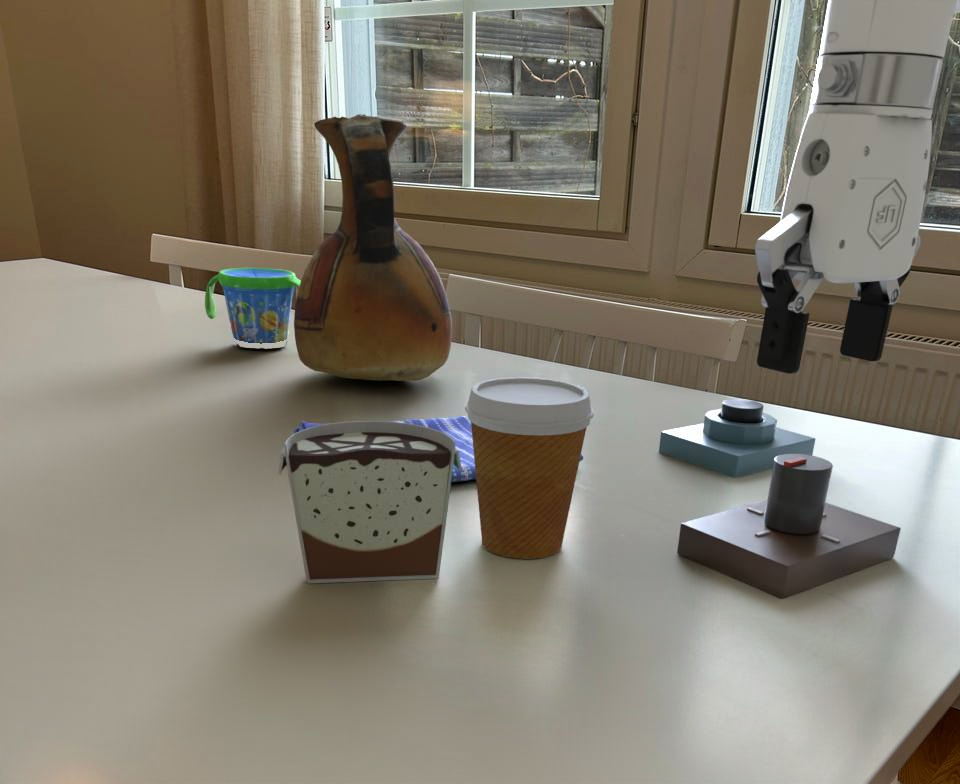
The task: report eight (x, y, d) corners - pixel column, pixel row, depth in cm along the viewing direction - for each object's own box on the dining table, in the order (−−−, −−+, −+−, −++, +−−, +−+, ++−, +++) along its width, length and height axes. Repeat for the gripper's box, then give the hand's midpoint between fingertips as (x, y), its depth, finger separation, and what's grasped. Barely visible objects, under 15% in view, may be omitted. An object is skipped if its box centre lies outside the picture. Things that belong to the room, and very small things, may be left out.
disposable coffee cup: (436, 540, 77) (438, 386, 72) (522, 514, 83) (529, 370, 77) (521, 578, 71) (531, 413, 65) (607, 548, 77) (623, 394, 71)
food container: (447, 545, 76) (449, 417, 72) (459, 577, 71) (462, 441, 66) (285, 551, 74) (277, 419, 70) (285, 584, 69) (276, 444, 64)
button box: (734, 436, 107) (740, 399, 105) (811, 459, 100) (819, 420, 98) (658, 452, 101) (663, 413, 99) (735, 478, 94) (741, 437, 92)
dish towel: (290, 447, 98) (288, 419, 97) (500, 425, 108) (501, 399, 106) (350, 501, 84) (349, 469, 83) (584, 470, 94) (586, 441, 93)
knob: (786, 511, 78) (798, 446, 76) (831, 527, 75) (845, 460, 73) (752, 521, 76) (763, 454, 73) (797, 538, 73) (810, 469, 70)
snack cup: (327, 344, 145) (324, 271, 140) (294, 358, 136) (289, 280, 131) (232, 335, 149) (226, 264, 144) (194, 348, 140) (187, 272, 135)
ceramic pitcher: (431, 361, 137) (433, 118, 123) (469, 396, 120) (476, 117, 106) (288, 365, 132) (274, 111, 118) (307, 401, 115) (293, 110, 101)
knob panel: (788, 519, 84) (794, 489, 83) (893, 557, 77) (901, 525, 76) (676, 553, 76) (681, 521, 75) (782, 599, 69) (788, 564, 68)
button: (737, 414, 101) (740, 397, 101) (769, 423, 99) (772, 405, 98) (711, 419, 99) (714, 401, 98) (743, 428, 96) (746, 410, 96)
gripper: (843, 81, 56) (787, 386, 63) (998, 100, 65) (932, 363, 73) (739, 83, 61) (699, 364, 69) (896, 100, 70) (845, 345, 78)
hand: (819, 363), depth 71 cm, fingers open, 9 cm apart
